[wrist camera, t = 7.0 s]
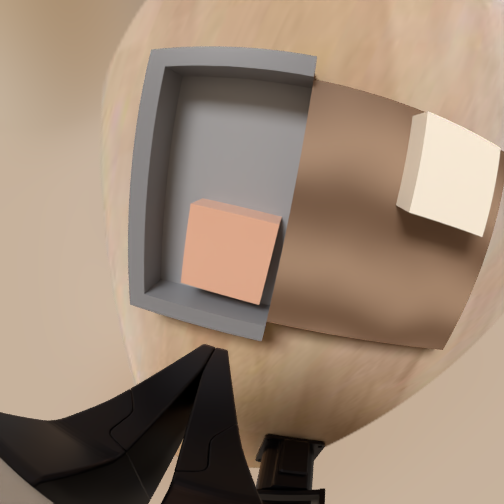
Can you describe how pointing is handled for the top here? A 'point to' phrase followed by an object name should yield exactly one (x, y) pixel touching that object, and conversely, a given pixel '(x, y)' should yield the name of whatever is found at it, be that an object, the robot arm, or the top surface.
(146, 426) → the robot arm
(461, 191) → the cream tile
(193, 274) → the terracotta tile
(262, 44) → the top surface
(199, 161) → the box
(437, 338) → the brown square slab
